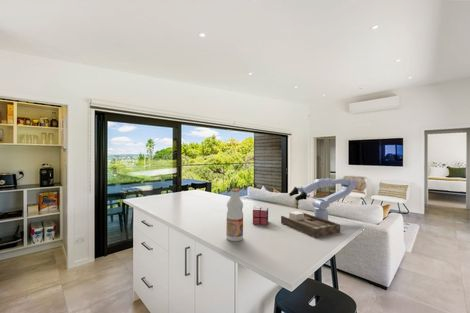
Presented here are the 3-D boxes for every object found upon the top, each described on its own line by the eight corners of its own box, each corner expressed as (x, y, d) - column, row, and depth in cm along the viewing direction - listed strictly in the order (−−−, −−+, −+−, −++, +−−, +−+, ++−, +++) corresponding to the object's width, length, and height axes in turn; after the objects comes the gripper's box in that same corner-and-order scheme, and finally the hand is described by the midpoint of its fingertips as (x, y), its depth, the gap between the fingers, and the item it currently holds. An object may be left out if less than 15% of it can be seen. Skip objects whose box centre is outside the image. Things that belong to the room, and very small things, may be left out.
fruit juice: (224, 236, 130) (225, 188, 130) (240, 235, 132) (241, 187, 132) (228, 242, 121) (228, 190, 120) (244, 241, 123) (245, 190, 123)
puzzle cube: (267, 225, 151) (267, 210, 151) (252, 224, 153) (252, 209, 153) (268, 221, 161) (268, 207, 161) (254, 220, 163) (254, 206, 163)
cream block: (296, 216, 162) (297, 211, 162) (303, 219, 156) (304, 213, 156) (289, 217, 159) (289, 212, 159) (296, 220, 153) (296, 214, 153)
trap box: (303, 219, 166) (303, 212, 166) (339, 232, 138) (340, 224, 138) (281, 223, 156) (281, 215, 156) (315, 237, 128) (315, 229, 128)
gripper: (301, 180, 164) (285, 188, 161) (314, 187, 150) (297, 196, 147) (303, 188, 166) (288, 196, 163) (316, 196, 153) (299, 205, 150)
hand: (292, 197), depth 155 cm, fingers open, 7 cm apart
